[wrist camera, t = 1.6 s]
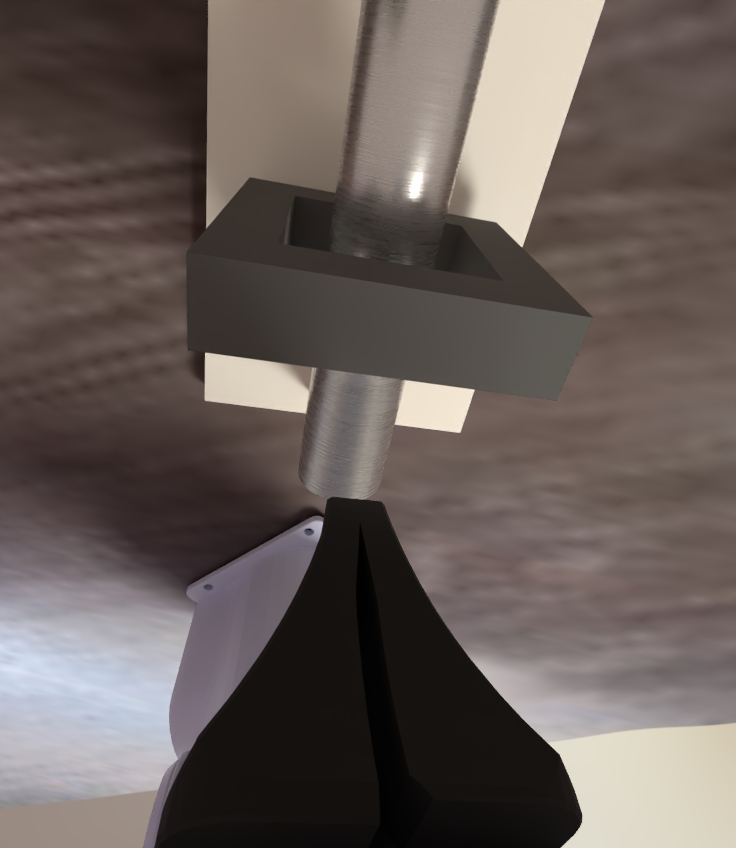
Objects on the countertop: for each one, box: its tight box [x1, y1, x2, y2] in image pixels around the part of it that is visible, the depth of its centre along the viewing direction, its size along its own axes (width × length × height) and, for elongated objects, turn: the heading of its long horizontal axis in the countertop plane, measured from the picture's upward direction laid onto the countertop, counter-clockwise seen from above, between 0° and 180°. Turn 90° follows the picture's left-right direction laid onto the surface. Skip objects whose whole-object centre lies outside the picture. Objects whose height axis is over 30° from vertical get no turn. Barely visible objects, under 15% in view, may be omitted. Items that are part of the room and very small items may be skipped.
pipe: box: [298, 0, 500, 500], centre depth 12 cm, size 20×3×3 cm, turn 170°
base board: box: [205, 0, 605, 433], centre depth 17 cm, size 22×11×1 cm, turn 170°
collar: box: [187, 177, 593, 401], centre depth 14 cm, size 2×8×8 cm, turn 80°
